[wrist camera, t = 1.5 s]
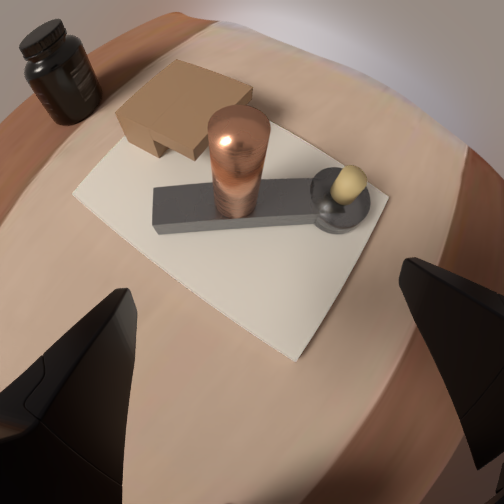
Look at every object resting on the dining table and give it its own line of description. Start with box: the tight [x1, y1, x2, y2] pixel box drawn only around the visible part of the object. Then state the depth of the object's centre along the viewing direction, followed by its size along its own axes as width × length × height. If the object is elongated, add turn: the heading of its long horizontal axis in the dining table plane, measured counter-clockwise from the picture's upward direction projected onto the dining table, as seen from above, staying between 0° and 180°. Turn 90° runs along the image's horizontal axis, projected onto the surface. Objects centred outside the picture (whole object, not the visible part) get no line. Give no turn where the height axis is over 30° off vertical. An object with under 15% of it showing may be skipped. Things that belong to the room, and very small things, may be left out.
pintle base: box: [72, 59, 389, 362], centre depth 22 cm, size 24×16×6 cm
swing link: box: [152, 105, 371, 235], centre depth 18 cm, size 16×5×10 cm, turn 95°
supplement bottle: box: [19, 19, 102, 126], centre depth 21 cm, size 7×7×12 cm
